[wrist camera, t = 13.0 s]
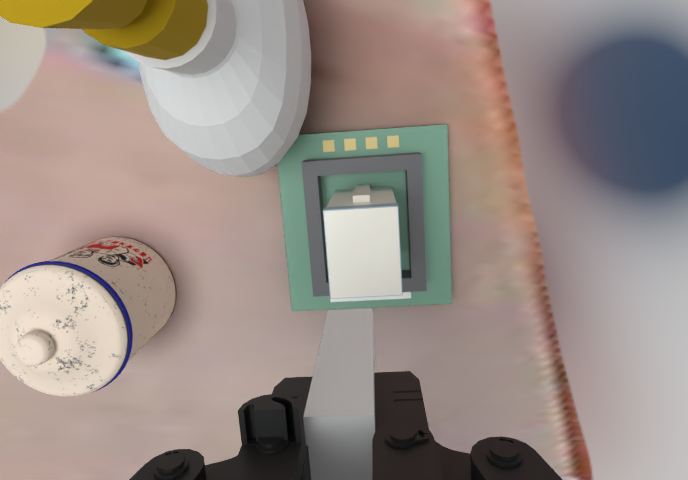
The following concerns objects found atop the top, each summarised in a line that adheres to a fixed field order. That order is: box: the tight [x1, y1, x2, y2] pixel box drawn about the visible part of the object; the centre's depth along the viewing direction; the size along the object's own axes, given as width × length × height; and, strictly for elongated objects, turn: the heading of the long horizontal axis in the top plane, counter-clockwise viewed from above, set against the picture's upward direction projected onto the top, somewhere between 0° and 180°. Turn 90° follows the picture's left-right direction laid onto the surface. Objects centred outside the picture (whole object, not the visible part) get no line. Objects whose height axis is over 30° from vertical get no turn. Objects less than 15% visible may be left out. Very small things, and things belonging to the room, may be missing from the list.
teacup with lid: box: [0, 237, 175, 396], centre depth 36 cm, size 12×9×12 cm
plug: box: [323, 185, 403, 299], centre depth 33 cm, size 5×4×9 cm
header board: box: [277, 124, 452, 311], centre depth 37 cm, size 13×12×4 cm
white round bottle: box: [0, 0, 311, 177], centre depth 24 cm, size 14×9×26 cm, turn 2°
